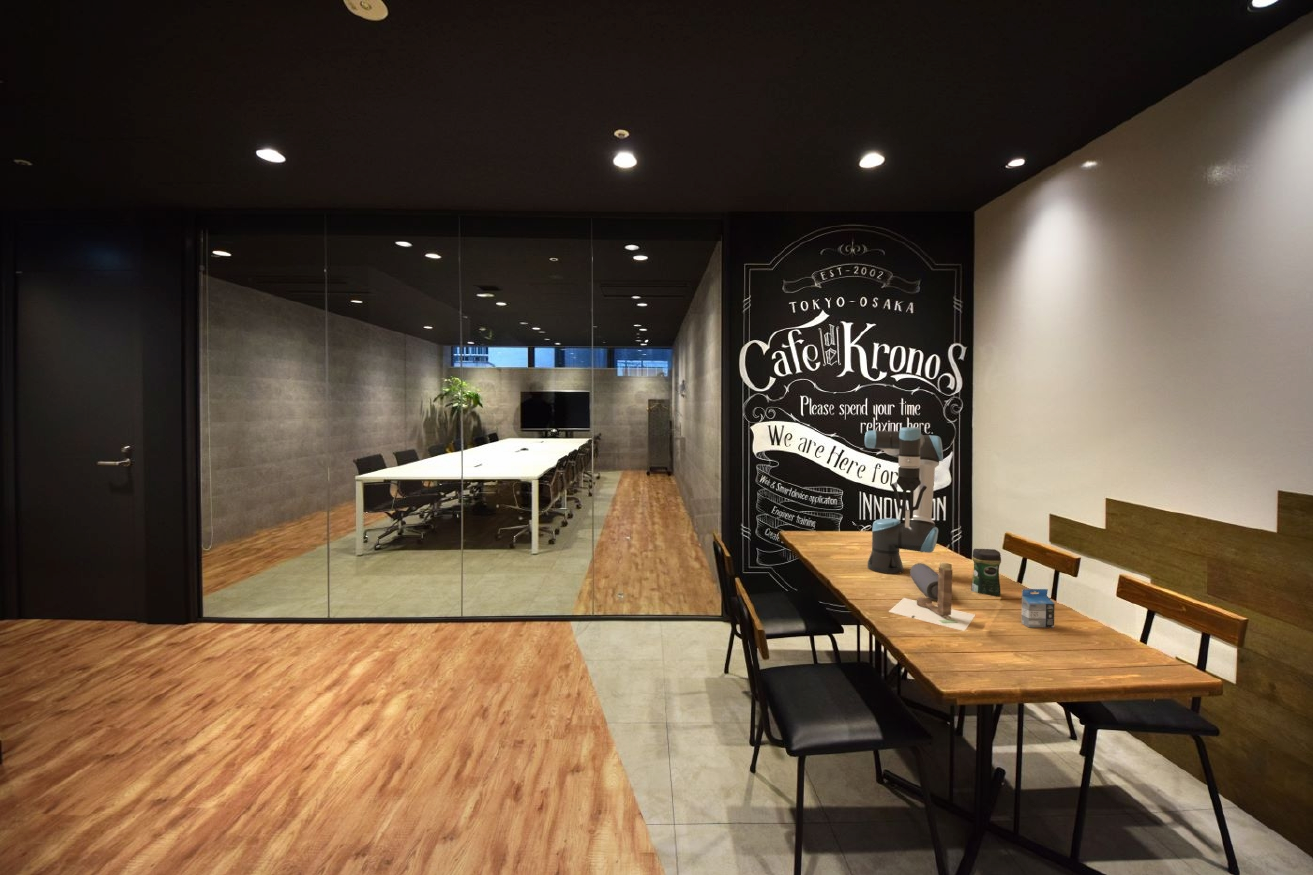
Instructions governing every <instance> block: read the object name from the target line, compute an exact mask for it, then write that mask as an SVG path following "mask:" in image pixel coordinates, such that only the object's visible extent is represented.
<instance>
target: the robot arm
mask: <svg viewBox="0 0 1313 875" xmlns="http://www.w3.org/2000/svg"><path fill="white" fill-rule="evenodd" d="M921 431H922V430H921V427H913V426H912V427H906V426H905V427H900V429H899V431H898V430H875V429H874V430H866V432H865V433H864V434H865V435H864V446H865V448H867V449H878V450H880V451H881V450H882V451H883V452H884V453H885V454H887V455H889V456H891V457H894V458H897V459H898V466H899V467H898V469H897V479H896V481H895V482H893V483H891V484H890V488H892V490H893V494H894V500H895V502H896V507H897V509H900V510H901V513H902V514H901V517H902V519H904V523H901V520H900V519H899V518H898V519H897V518H880V519H876V520H875V521H873V523H872V530H871V531H872V535H871V537H872V538H871V539H872V540H871V551H870V552H871V553H870V554H869V558H868V561H867V568H868V570H871V571H873V572H877V573H881V574H886V575H887V574H888V575H892V574H894V575H895V574H897V575H898V574H902V573H903V572H904V565H903V561H902V558H901V555H900V550H905V551H912V552H919V553H927V554H930V553H931V554H932V553H933V552H934V550H935V548H936V545H937V541H938V535H939V528H938V527H937V526H936V523H935V522H934V520H933V519H932V514H933V504H934V503H933V502H934V500H933V499H934V487H935V472H936V471H935V470H936V468H937V467H938V466H939V465H940V462H942V461H944V452H943V442H942V438H941V437H940V436H938V435H930V434H928V435H927V434H924V435H923V434H922V433H921ZM898 486H899V488H900V489H901V490H902V503H901V502H900V501H901V500H900V496H899V492H898V489H897V488H898ZM907 491H909V509H906V508H907Z"/></svg>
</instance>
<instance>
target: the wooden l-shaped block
mask: <svg viewBox="0 0 1313 875" xmlns="http://www.w3.org/2000/svg"><path fill="white" fill-rule="evenodd" d="M952 590H953V569H952V563H949V562H940V563H939V567H938V601H937V604H933V600H931V599H930V598H928V597H923V596H922V597H921V596H920V597H919V596H918V597H917V598H916V601H917V605H918V606H921V607H926V608H929V609H931V610H933V611H934V612H936V613H937V614H939V615H941V616H946V617H947V618H948V619H951V617H950V616H949V615H951V609H952V593H953V592H952ZM935 605H936V606H937V607H936V606H935Z"/></svg>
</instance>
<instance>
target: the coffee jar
mask: <svg viewBox="0 0 1313 875" xmlns="http://www.w3.org/2000/svg"><path fill="white" fill-rule="evenodd" d="M971 559H972V561H973V574H972V580H971V588H970V590H971V592H972V593H973V592H974V593H977V594H981V595H987V596H988V595H989V596H992V597H993V596H994V597H997V598H1000V597H1001V584H1000V583H1001V582H1000V565H1001V563H1002V555H1001V552H1000V551H998V550H997V549H993V548H992V549H991V548H973V550H972V555H971Z"/></svg>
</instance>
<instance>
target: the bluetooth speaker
mask: <svg viewBox="0 0 1313 875" xmlns="http://www.w3.org/2000/svg"><path fill="white" fill-rule="evenodd" d="M909 574H910V578H911V580H912V581H913V583H914V584H915V585H916V587H917V588H918V590H920V592H921V593H923V594H924V595H925V596H926V598H929V599H931V600H932V602H938V575H939V573H937V572H936V571H935V570H934V569H932V568H931V567H930V566H929V565H927V564H925V563H923V562H921V563H919V562H918V563H915V564H914V565H912V566H911V568H910V570H909Z"/></svg>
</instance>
